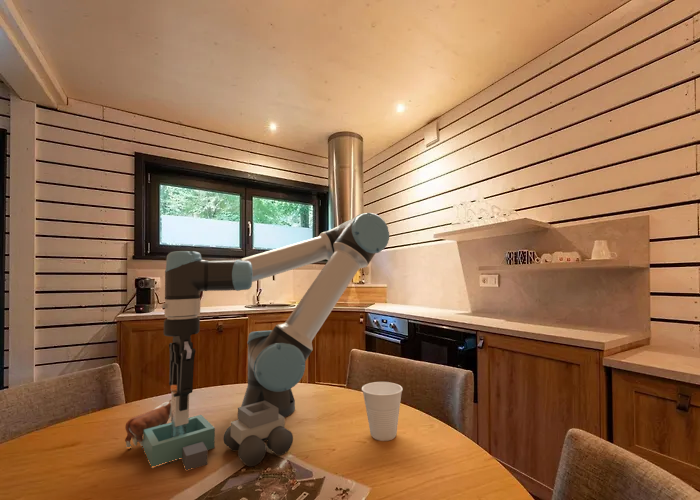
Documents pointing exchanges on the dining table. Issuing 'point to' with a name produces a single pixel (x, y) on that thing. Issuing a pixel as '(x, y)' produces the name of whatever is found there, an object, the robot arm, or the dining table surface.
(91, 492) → the dining table surface
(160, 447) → the tray
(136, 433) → the bull figurine
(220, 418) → the dining table surface
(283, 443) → the trolley
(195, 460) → the block
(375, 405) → the cup
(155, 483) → the dining table surface
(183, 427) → the glass jar
